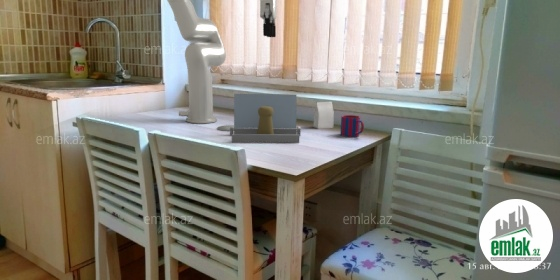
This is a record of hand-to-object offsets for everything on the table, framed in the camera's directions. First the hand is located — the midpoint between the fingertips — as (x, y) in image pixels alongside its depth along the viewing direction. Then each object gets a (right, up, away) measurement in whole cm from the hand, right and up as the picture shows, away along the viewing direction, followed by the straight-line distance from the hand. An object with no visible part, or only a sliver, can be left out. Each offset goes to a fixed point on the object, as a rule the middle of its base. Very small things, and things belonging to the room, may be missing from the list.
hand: (269, 36), depth 143 cm
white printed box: (+21, -31, +19) cm, 42 cm away
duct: (-1, -35, -2) cm, 35 cm away
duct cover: (-2, -26, +3) cm, 26 cm away
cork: (-1, -36, -2) cm, 36 cm away
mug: (+29, -35, +4) cm, 46 cm away
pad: (-15, -31, +14) cm, 38 cm away
